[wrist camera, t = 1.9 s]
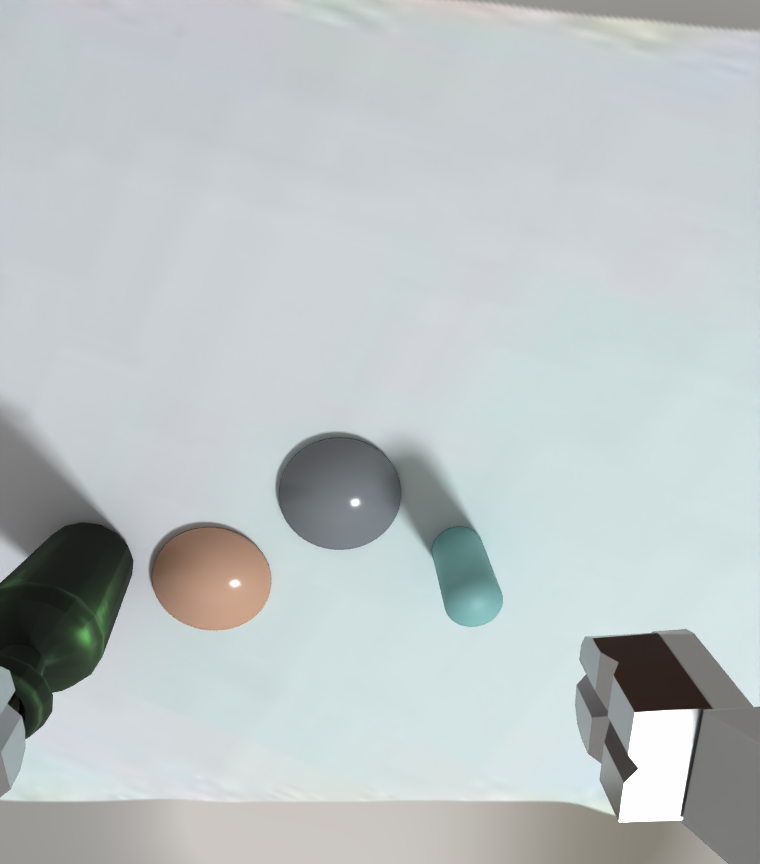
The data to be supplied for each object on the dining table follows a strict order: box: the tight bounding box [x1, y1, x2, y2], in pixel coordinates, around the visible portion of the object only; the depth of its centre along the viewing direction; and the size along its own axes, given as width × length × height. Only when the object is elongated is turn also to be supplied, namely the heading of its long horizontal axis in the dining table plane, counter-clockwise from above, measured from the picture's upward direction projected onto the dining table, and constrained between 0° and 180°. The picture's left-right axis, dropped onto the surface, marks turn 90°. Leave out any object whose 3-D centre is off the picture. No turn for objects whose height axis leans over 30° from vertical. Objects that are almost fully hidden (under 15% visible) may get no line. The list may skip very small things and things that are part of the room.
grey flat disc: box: [279, 438, 401, 550], centre depth 50 cm, size 9×9×1 cm
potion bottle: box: [0, 523, 133, 739], centre depth 43 cm, size 8×8×18 cm
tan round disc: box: [152, 527, 271, 630], centre depth 52 cm, size 9×9×1 cm
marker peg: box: [432, 527, 503, 627], centre depth 49 cm, size 4×4×7 cm
